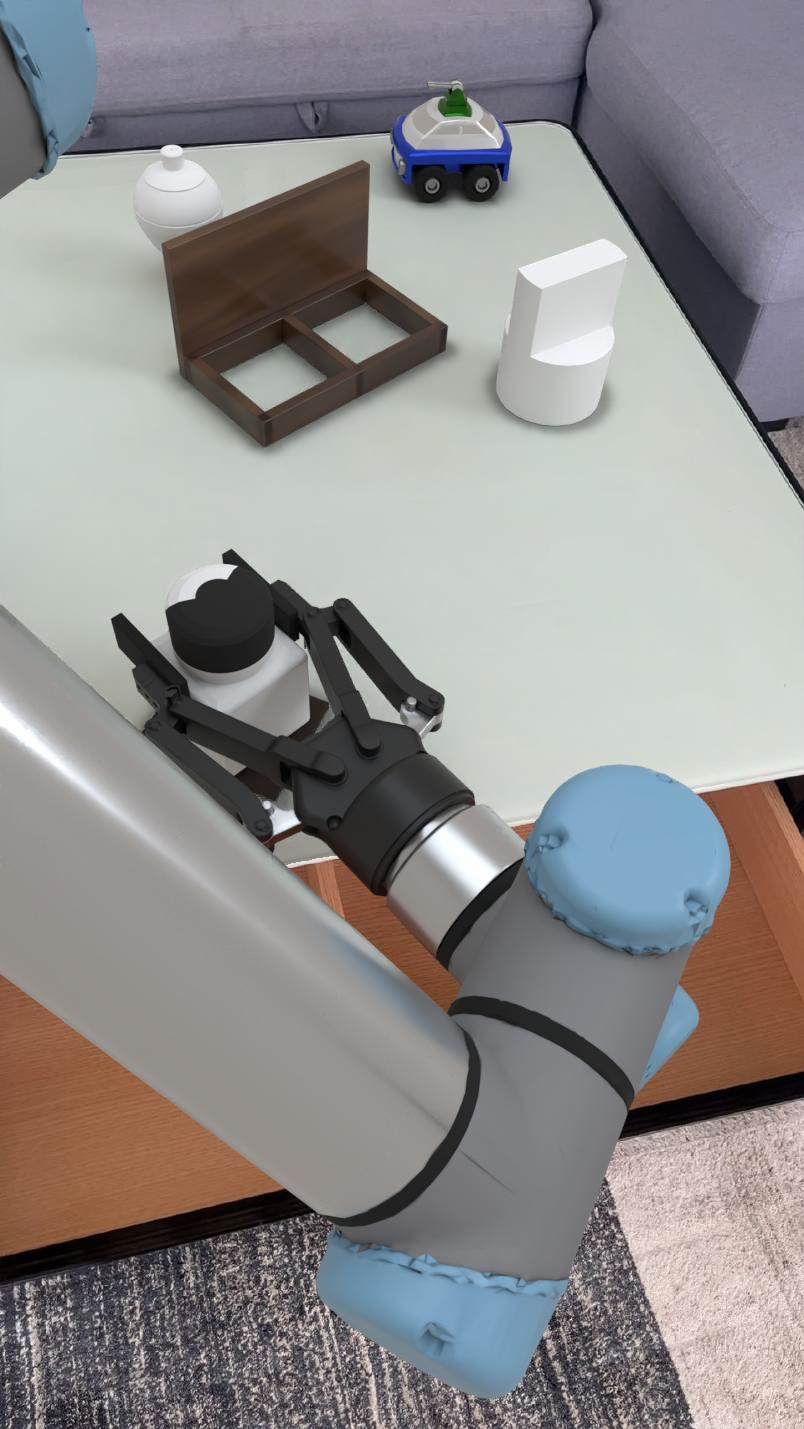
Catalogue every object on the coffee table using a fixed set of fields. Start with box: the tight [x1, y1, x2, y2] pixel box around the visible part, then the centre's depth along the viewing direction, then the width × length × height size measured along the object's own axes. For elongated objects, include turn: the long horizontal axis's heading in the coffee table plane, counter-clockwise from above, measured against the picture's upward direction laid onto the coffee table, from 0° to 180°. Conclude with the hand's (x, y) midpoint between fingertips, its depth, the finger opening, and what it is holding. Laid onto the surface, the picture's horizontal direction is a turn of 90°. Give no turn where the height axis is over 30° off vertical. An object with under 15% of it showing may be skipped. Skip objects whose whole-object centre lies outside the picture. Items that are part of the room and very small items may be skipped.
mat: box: [141, 694, 330, 802], centre depth 70 cm, size 10×8×1 cm
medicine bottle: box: [150, 563, 310, 776], centre depth 64 cm, size 7×7×12 cm
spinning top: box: [132, 144, 224, 255], centre depth 93 cm, size 8×8×12 cm
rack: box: [161, 159, 449, 448], centre depth 87 cm, size 12×20×12 cm, turn 132°
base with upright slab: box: [495, 237, 629, 427], centre depth 86 cm, size 9×9×12 cm
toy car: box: [389, 78, 513, 203], centre depth 106 cm, size 9×12×10 cm
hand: (175, 597), depth 65 cm, fingers closed on medicine bottle, 7 cm apart
